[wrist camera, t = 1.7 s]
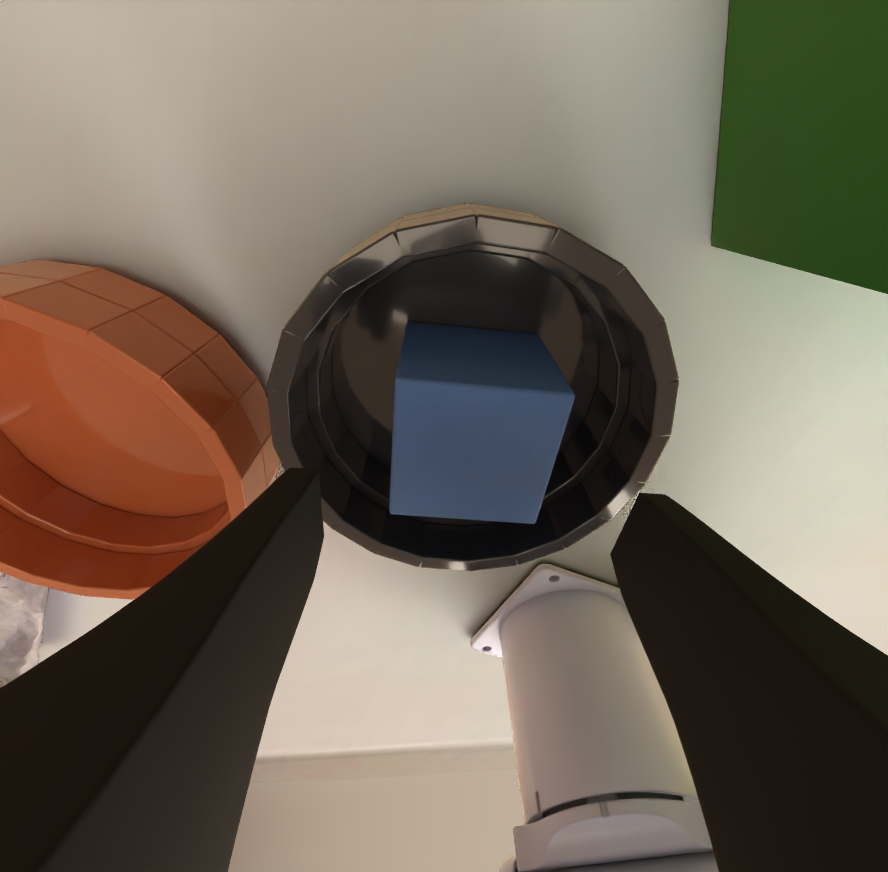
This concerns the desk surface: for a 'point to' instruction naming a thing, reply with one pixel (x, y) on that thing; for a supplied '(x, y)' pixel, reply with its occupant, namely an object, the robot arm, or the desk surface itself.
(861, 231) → the hardback book
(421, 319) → the black bowl
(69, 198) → the desk surface
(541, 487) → the block
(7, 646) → the stone block
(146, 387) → the orange bowl
